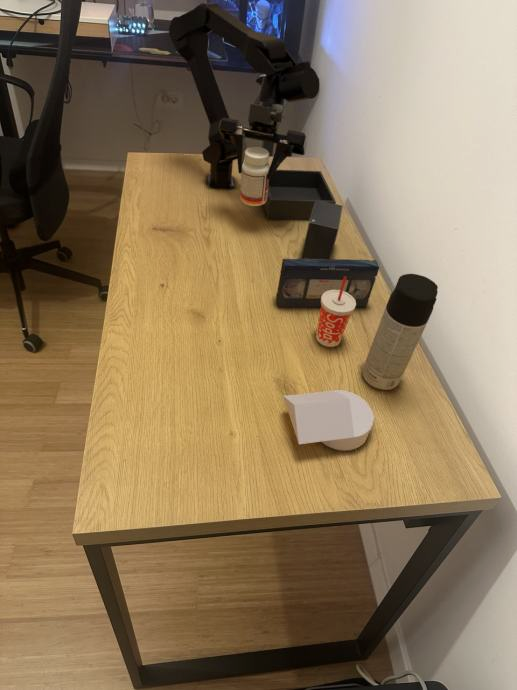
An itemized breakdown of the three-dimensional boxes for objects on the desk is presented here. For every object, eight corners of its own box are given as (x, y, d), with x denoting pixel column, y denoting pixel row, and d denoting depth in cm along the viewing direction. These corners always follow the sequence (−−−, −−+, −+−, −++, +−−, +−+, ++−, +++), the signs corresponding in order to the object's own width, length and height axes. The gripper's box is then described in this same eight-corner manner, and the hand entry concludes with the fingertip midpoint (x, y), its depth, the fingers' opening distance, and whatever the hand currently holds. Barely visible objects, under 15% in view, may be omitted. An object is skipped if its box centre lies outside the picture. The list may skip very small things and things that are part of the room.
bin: (258, 187, 133) (260, 168, 129) (317, 189, 135) (320, 171, 132) (267, 219, 121) (270, 199, 118) (331, 220, 124) (336, 201, 120)
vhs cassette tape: (276, 307, 98) (284, 265, 91) (275, 297, 100) (282, 256, 93) (367, 309, 100) (380, 268, 93) (363, 299, 102) (376, 259, 95)
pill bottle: (255, 190, 117) (258, 142, 108) (272, 202, 114) (277, 154, 105) (234, 197, 114) (236, 149, 105) (251, 210, 111) (255, 161, 102)
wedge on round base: (295, 457, 73) (376, 446, 76) (302, 430, 69) (389, 419, 72) (280, 409, 80) (356, 400, 82) (286, 381, 75) (366, 373, 78)
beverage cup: (305, 339, 92) (320, 277, 82) (321, 322, 96) (337, 261, 86) (335, 354, 90) (353, 293, 80) (350, 336, 94) (369, 276, 84)
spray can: (401, 370, 89) (442, 279, 75) (396, 397, 84) (439, 305, 70) (365, 358, 90) (398, 267, 76) (358, 384, 85) (392, 292, 71)
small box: (328, 271, 108) (339, 228, 101) (299, 264, 109) (307, 222, 102) (334, 245, 116) (344, 204, 109) (306, 239, 116) (314, 198, 109)
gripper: (221, 76, 100) (203, 153, 101) (312, 93, 98) (293, 171, 99) (231, 103, 111) (215, 172, 112) (313, 118, 109) (296, 188, 110)
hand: (253, 175), depth 108 cm, fingers closed on pill bottle, 6 cm apart
